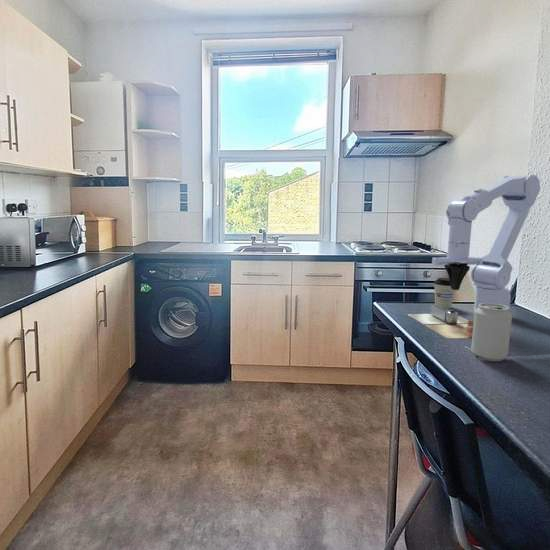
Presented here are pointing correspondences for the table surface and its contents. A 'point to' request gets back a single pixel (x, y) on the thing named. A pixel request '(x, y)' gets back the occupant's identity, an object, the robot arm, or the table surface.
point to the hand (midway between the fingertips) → (454, 289)
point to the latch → (444, 314)
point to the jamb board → (446, 326)
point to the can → (491, 331)
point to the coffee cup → (443, 292)
